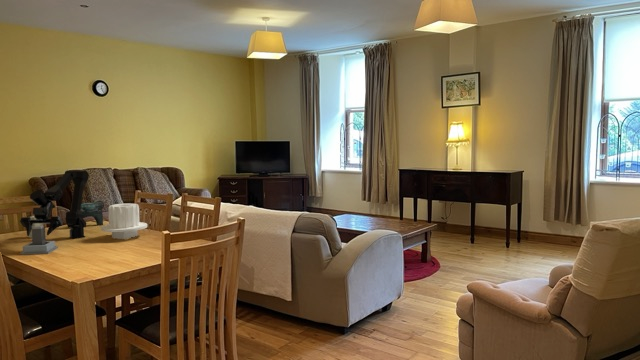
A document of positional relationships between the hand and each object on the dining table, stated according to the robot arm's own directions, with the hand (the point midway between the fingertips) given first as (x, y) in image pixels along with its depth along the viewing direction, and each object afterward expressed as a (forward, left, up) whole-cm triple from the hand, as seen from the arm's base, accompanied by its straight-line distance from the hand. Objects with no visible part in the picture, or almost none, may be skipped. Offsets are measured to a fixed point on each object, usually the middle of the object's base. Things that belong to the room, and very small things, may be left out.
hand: (37, 235), depth 242 cm
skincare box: (-13, -42, -9) cm, 44 cm away
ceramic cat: (-48, -52, -9) cm, 71 cm away
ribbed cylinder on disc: (-46, -1, -9) cm, 47 cm away
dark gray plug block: (-1, -1, -8) cm, 8 cm away
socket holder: (-1, -1, -9) cm, 9 cm away
